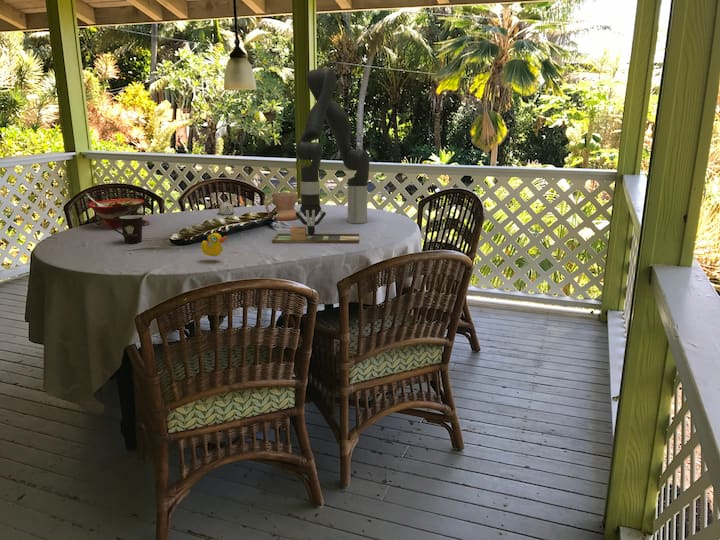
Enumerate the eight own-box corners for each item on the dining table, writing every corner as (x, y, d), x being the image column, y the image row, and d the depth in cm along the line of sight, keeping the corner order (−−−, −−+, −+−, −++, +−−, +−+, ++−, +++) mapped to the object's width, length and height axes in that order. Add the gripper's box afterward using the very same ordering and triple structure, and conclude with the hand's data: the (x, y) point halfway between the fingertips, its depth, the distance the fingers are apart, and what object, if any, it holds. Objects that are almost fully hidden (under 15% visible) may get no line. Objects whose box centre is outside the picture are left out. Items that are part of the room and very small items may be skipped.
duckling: (229, 255, 210) (228, 232, 208) (224, 257, 205) (223, 234, 203) (205, 254, 211) (203, 231, 209) (199, 256, 207) (197, 233, 205)
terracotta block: (292, 237, 240) (291, 226, 239) (306, 237, 240) (306, 226, 239) (290, 240, 234) (290, 229, 233) (305, 240, 234) (305, 229, 233)
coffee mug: (149, 240, 236) (147, 215, 233) (134, 244, 228) (132, 219, 225) (126, 238, 240) (123, 214, 237) (111, 242, 232) (108, 217, 229)
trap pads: (312, 236, 243) (312, 235, 243) (340, 237, 243) (340, 235, 243) (309, 242, 232) (309, 241, 232) (339, 242, 232) (339, 241, 232)
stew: (73, 230, 257) (69, 194, 253) (114, 222, 279) (110, 188, 275) (122, 235, 247) (119, 197, 243) (160, 226, 269) (157, 191, 265)
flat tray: (276, 236, 244) (276, 233, 244) (359, 236, 244) (359, 233, 244) (272, 243, 231) (271, 240, 231) (359, 243, 231) (359, 240, 231)
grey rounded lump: (231, 221, 281) (229, 200, 278) (214, 220, 283) (213, 200, 280) (238, 218, 289) (237, 198, 287) (222, 217, 291) (221, 198, 289)
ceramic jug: (299, 219, 288) (298, 190, 284) (306, 224, 274) (305, 194, 271) (263, 221, 282) (262, 192, 279) (268, 226, 269) (267, 195, 265)
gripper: (327, 191, 236) (327, 233, 241) (294, 191, 236) (296, 233, 240) (326, 193, 229) (326, 236, 233) (293, 193, 229) (294, 236, 233)
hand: (311, 234), depth 237 cm, fingers closed
